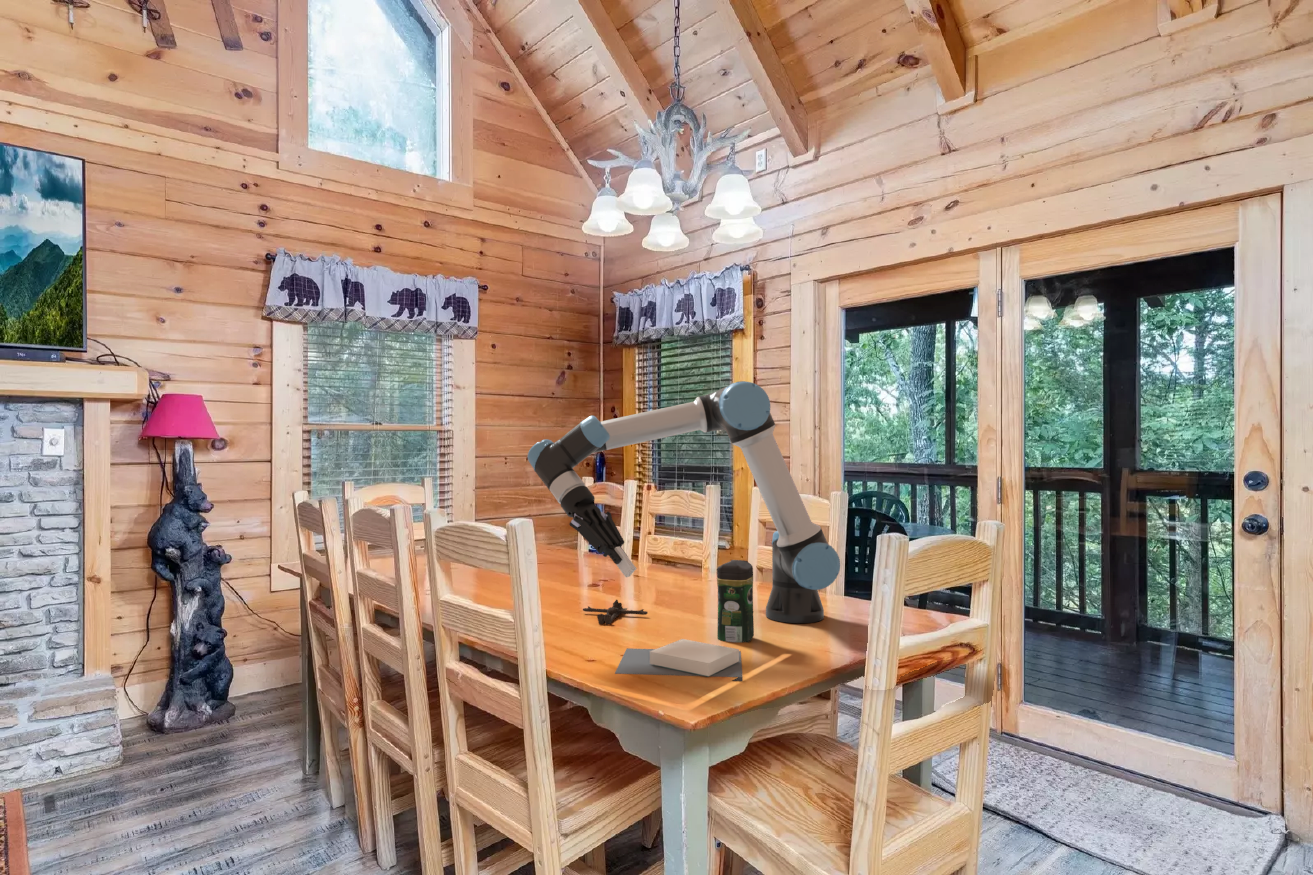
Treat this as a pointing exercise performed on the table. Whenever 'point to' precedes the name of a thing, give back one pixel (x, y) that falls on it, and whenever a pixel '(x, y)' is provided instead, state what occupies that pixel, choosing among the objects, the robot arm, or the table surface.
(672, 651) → the tile
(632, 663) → the mat
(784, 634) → the table surface
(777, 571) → the robot arm
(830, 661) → the table surface
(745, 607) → the coffee jar
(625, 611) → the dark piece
